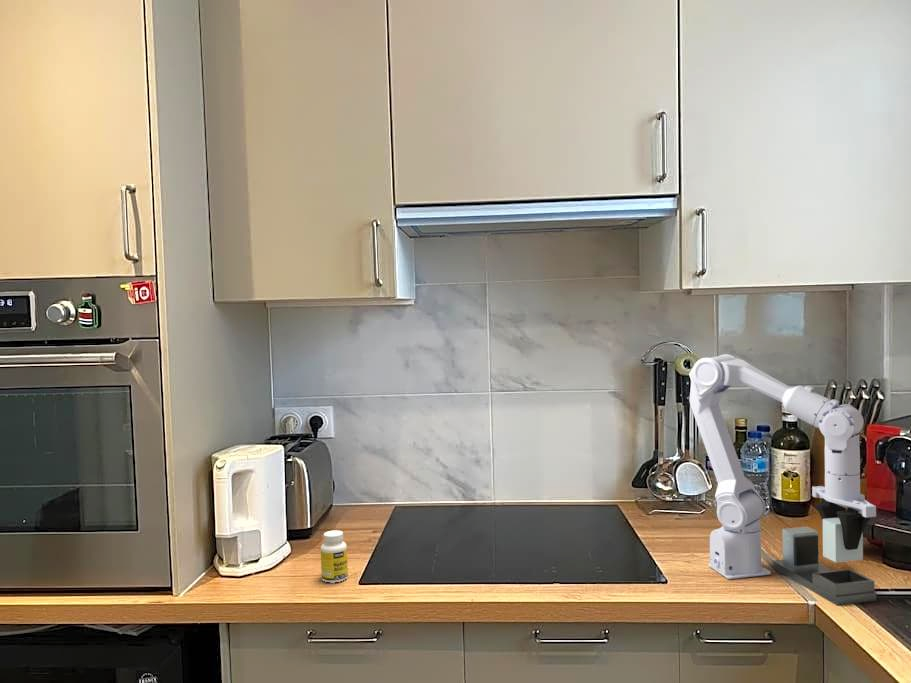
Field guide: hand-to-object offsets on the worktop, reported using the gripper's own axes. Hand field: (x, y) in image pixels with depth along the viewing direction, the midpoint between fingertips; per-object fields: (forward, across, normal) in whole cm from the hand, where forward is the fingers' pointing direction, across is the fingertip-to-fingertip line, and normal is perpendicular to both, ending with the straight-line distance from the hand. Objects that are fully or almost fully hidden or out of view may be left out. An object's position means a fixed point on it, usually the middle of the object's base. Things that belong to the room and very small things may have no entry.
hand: (842, 544), depth 133 cm
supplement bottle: (+10, +33, +93) cm, 99 cm away
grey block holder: (+9, +6, 0) cm, 11 cm away
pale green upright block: (+2, 0, 0) cm, 2 cm away
